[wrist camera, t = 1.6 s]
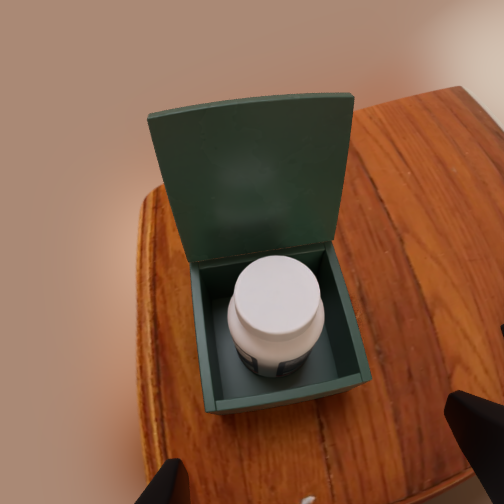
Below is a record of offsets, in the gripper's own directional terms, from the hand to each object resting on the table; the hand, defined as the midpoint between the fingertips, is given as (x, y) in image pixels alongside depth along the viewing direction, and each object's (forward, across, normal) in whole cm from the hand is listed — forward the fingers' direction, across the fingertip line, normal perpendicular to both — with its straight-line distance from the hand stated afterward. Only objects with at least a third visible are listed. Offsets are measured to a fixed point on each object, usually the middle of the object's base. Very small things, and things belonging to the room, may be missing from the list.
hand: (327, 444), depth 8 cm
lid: (+10, 0, -7) cm, 12 cm away
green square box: (+14, 0, +4) cm, 14 cm away
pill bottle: (+13, 0, +4) cm, 14 cm away
